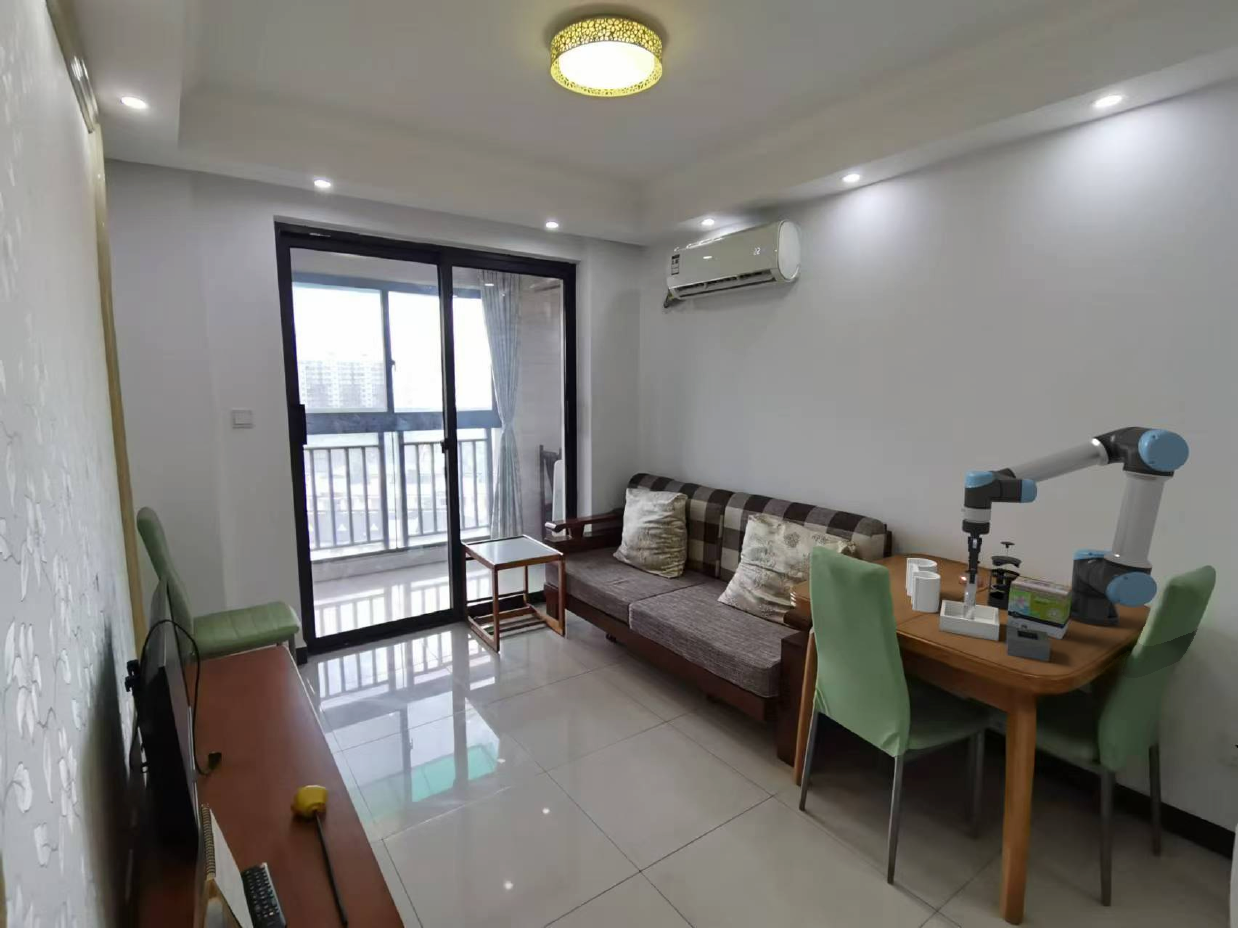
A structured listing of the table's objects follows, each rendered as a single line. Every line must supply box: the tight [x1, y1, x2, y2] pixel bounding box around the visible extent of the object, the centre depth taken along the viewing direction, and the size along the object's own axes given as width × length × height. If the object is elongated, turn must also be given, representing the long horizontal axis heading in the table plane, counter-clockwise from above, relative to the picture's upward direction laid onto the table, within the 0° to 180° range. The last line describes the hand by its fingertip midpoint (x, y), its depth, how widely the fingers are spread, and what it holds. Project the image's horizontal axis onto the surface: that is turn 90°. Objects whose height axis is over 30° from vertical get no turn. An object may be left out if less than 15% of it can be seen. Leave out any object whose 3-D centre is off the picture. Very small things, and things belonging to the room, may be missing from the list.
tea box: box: [1006, 576, 1072, 640], centre depth 191 cm, size 15×10×15 cm, turn 45°
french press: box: [986, 541, 1022, 611], centre depth 211 cm, size 12×9×23 cm
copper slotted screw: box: [958, 573, 985, 620], centre depth 194 cm, size 7×7×16 cm
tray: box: [938, 599, 1000, 642], centre depth 194 cm, size 16×16×5 cm
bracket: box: [905, 557, 941, 614], centre depth 217 cm, size 25×10×12 cm, turn 159°
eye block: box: [1005, 625, 1051, 663], centre depth 176 cm, size 10×10×5 cm
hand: (971, 587), depth 193 cm, fingers open, 9 cm apart
